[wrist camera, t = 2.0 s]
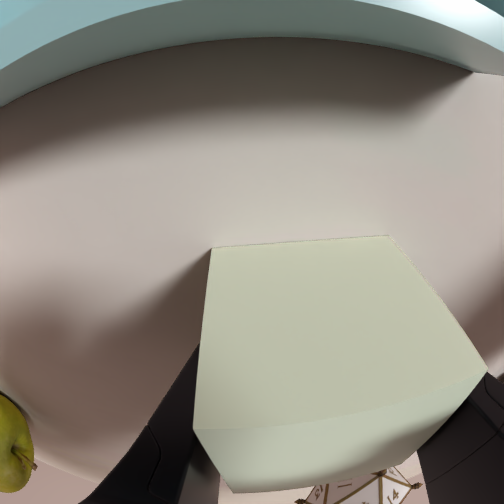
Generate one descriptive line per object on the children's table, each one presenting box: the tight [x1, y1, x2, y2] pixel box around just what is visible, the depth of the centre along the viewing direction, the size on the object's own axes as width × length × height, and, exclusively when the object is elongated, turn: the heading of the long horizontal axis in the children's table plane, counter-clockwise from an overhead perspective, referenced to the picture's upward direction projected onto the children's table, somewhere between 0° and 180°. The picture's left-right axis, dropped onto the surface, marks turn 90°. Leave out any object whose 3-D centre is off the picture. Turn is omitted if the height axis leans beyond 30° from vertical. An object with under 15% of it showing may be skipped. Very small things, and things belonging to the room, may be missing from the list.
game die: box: [295, 467, 423, 504], centre depth 14 cm, size 9×8×10 cm
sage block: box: [193, 235, 488, 493], centre depth 7 cm, size 5×5×5 cm
